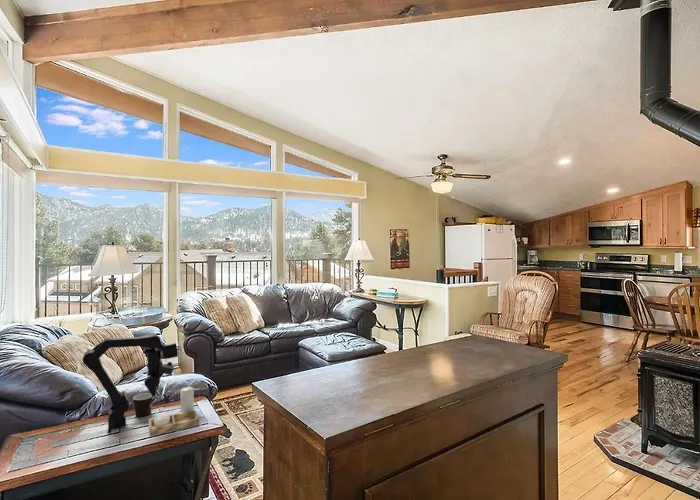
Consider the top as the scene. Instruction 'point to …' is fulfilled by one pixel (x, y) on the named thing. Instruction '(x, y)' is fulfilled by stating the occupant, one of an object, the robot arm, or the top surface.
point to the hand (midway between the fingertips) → (155, 393)
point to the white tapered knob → (187, 399)
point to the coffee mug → (143, 404)
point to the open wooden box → (175, 422)
